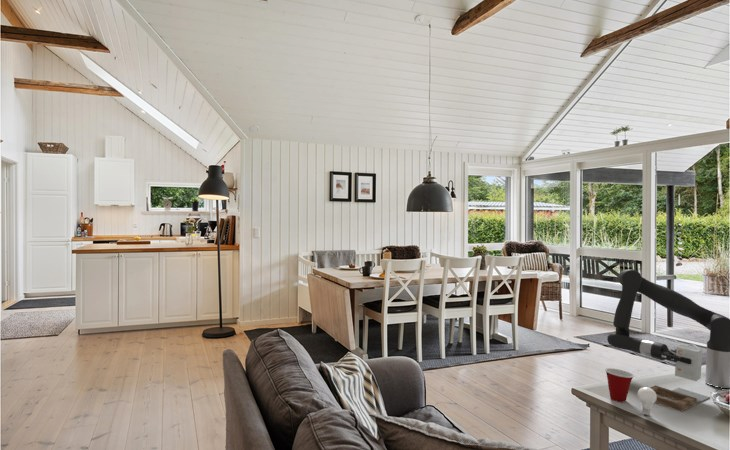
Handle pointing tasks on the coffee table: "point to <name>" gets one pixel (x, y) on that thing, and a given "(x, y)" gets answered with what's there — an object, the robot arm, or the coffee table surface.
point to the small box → (692, 369)
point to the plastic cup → (618, 383)
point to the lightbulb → (647, 399)
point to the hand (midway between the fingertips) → (694, 360)
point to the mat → (692, 394)
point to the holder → (679, 405)
